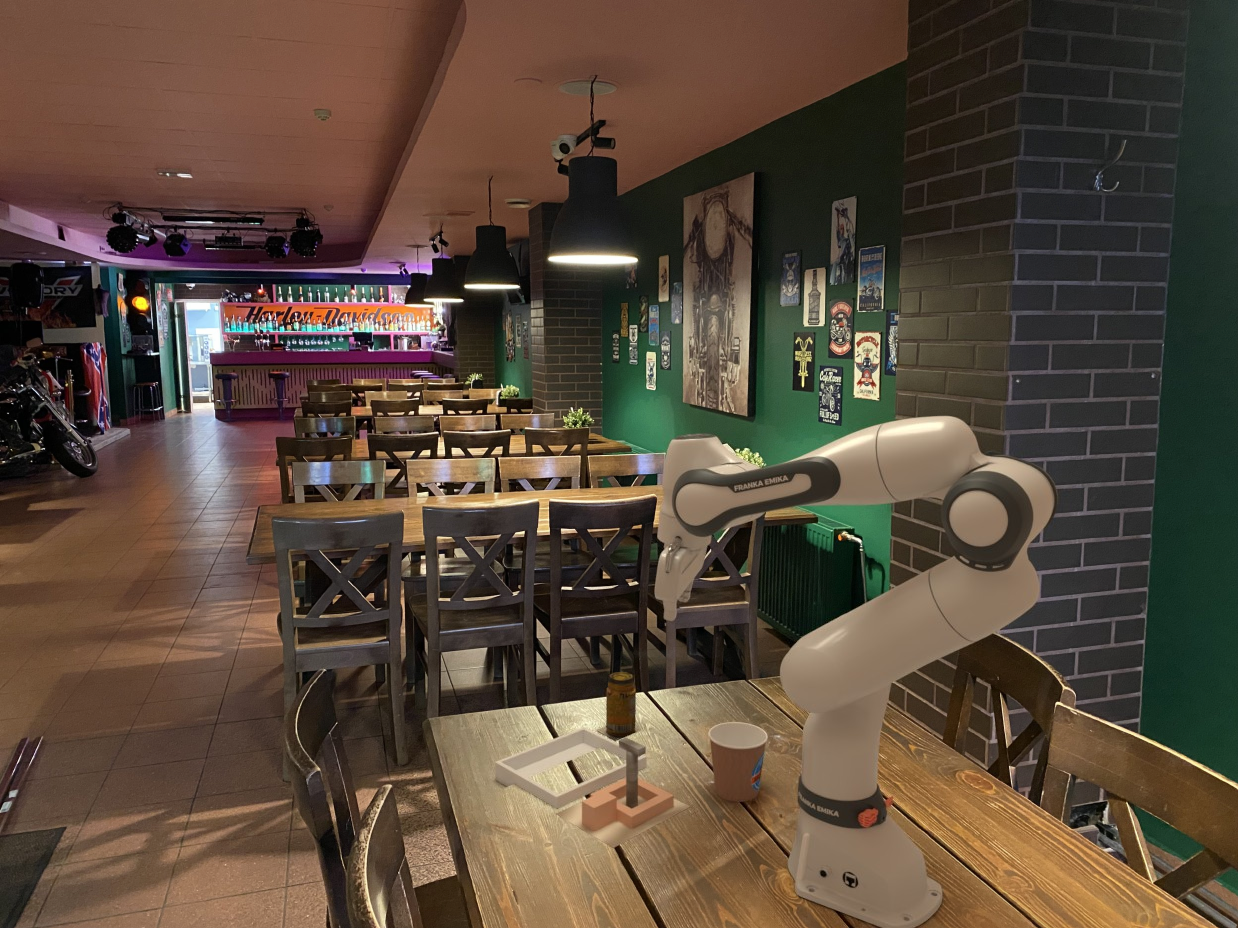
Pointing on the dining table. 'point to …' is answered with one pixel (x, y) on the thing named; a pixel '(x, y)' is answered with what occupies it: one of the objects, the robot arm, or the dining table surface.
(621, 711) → the condiment
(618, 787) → the square frame with stem
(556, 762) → the tray
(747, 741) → the coffee cup
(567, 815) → the board
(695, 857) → the dining table surface
